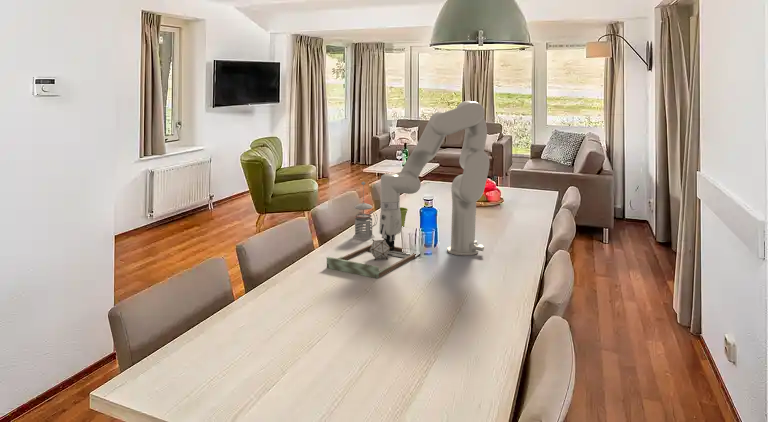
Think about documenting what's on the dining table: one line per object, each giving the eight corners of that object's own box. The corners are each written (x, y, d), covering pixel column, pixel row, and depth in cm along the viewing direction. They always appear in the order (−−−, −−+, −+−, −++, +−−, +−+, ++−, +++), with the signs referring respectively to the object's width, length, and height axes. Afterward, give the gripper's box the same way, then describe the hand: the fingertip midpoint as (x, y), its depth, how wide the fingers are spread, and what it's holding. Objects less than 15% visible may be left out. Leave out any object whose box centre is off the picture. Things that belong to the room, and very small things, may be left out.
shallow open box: (421, 254, 213) (421, 244, 212) (377, 278, 185) (377, 267, 185) (374, 246, 224) (374, 237, 223) (326, 267, 197) (326, 257, 196)
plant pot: (386, 224, 261) (386, 207, 259) (404, 223, 263) (404, 206, 261) (390, 229, 252) (390, 211, 250) (409, 228, 254) (410, 210, 252)
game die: (383, 269, 207) (388, 254, 199) (363, 260, 208) (367, 245, 200) (391, 253, 213) (396, 237, 205) (371, 244, 214) (376, 228, 206)
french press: (360, 232, 246) (360, 179, 240) (382, 236, 240) (382, 181, 235) (348, 237, 237) (347, 182, 232) (370, 241, 232) (370, 184, 226)
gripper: (388, 210, 201) (388, 256, 205) (407, 203, 214) (407, 247, 218) (371, 207, 205) (371, 253, 209) (391, 201, 217) (391, 244, 221)
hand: (389, 250), depth 213 cm, fingers closed
